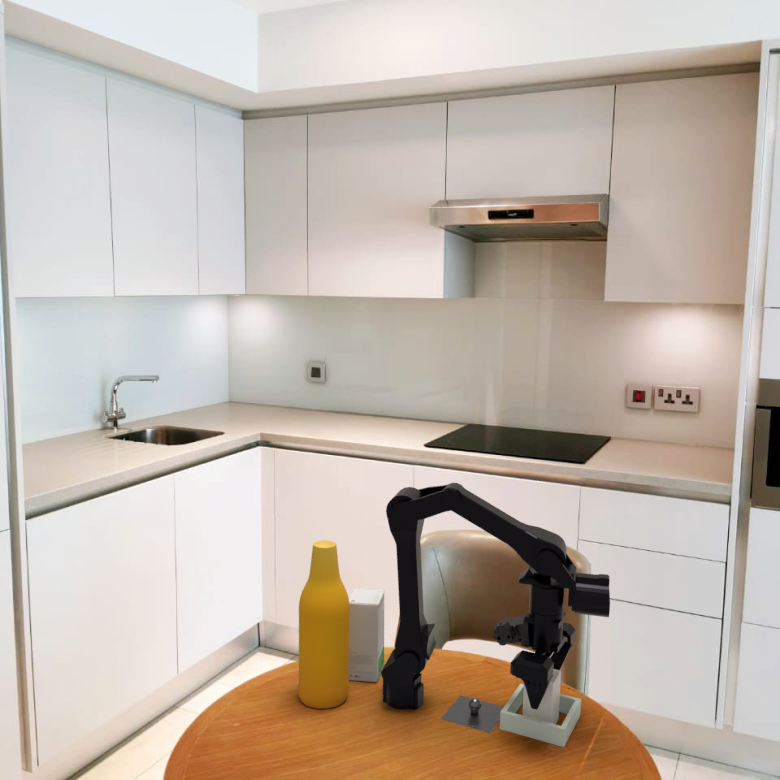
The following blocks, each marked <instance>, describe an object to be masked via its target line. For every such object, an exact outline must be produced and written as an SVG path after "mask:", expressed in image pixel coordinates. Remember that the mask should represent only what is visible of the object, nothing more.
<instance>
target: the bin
mask: <svg viewBox="0 0 780 780" xmlns="http://www.w3.org/2000/svg"><path fill="white" fill-rule="evenodd" d="M523 691H524V683H519V685H518V686H517V688H516V689H515V691H514V692H513V693H512V695H511V696H510V698H509V699H508V701H507V702H506V703H505V705H504V706H503V707H504V708H503V709H502V710H501V712H500V720H499V730H502V731H506V732H509V733H512V734H516V735H520V736H524V737H527V738H530V739H534V740H537V741H541V742H545V743H548V744H552V745H554V746H555V745H556V746H558V747H562V748H565V746H566V744H567V743H568V741H569V738H570V737H571V735H572V732H573V731H574V728H575V726H576V725H577V723H578V720H579V719H580V717H581V712H582V711H581V709H582V698H579V697H576V696H571V695H568V694H563V693H560V703H559V713H561V714H564V715H566V717H565V718H564V720H563V721H562V724H561V725H559V724H557V723H556V724H552V723H549V722H545V721H541V720H537V719H534V718H530V717H526V716H523V714H518V713H517V712H518V711H519V709H520V707H522V705H523Z"/></svg>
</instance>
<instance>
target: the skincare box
mask: <svg viewBox="0 0 780 780" xmlns="http://www.w3.org/2000/svg"><path fill="white" fill-rule="evenodd" d="M348 598H349V608H350V609H349V681H355V682H356V681H357V682H367V683H378V682H379V680H380V677H381V676H382V675H381V671H382V669H383V667H384V665H385V589H375V588H374V589H371V588H355V587H354V588H353V590H352V592H351V593H350V594H349V595H348Z"/></svg>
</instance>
